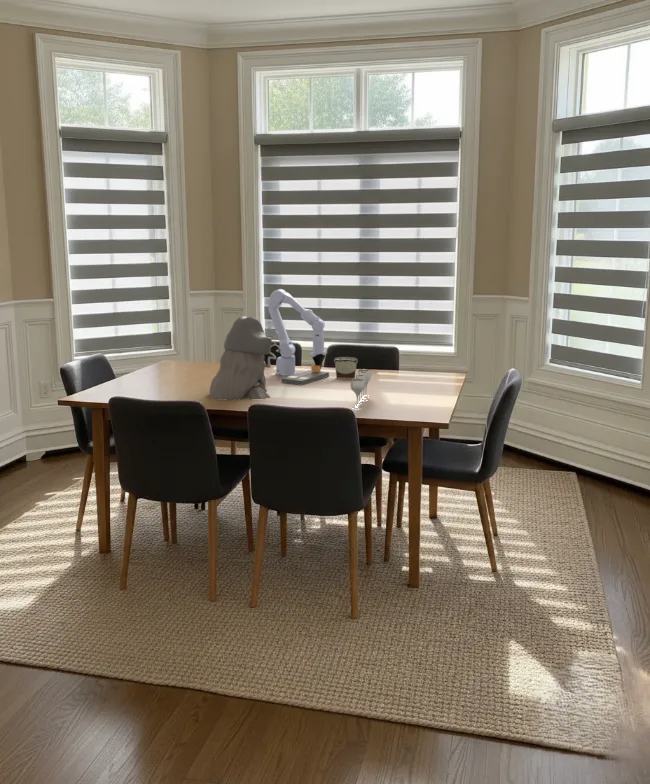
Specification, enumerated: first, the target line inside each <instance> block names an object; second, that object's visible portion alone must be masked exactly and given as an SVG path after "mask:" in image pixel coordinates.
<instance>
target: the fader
mask: <svg viewBox="0 0 650 784" xmlns="http://www.w3.org/2000/svg"><path fill="white" fill-rule="evenodd" d="M310 368H311V369H310V370H311V371H312V372H320V371H321V369H320V366H319V365H315V364H312V365H311V367H310Z"/></svg>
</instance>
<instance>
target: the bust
mask: <svg viewBox="0 0 650 784" xmlns="http://www.w3.org/2000/svg"><path fill="white" fill-rule="evenodd" d="M271 328H272V326H269V327H267V330H268V331H272V332H273V331H274V332H275V334H276V335H274V336H271V337H269V336H267V335H266V333H265V331H264V329H263V326H262V323H261V322H260V321H259V319H257V318H256V317H253V316H246V315H245V316H244V315H243V316H239V317H238V318H236V319H235V321H234V322H233V323H232V326H231V328H230V329H229V332H227V335H226V336H225V340H224V342H223V349H224V352H223V353H222V355H221V357H220V361H219V363H220V364H219V365H220V367H219V369H218V371H217V373H216V374H215V376H214V377H213V378H212V380H211V384H210V387H209V397H210V399H212V398H214V399H213V400H218V399H229V400H228V401H239V400H238V399H240V400H243V399H247V398H249V399H248V400H251V399H263V400H266V398H268V399H270V398H271V396H270V394H269V393H267V392H268V390H267V388H266V376H265V369H266V368H269V369H270V368H271V359H272V360H277V356H276V355H275V354H274V353H273V352H271V350H272V347H274V346H276V347H277V348H278V349H276V350H275V352H277V353H280V345H278V344H277V343H276V342H275V341H273V340H272V339H274V338H278V336H279V334H278V332H276V330H273V329H271ZM272 343H273V344H272ZM265 355H269V356H268V357H267V364H266V361H265ZM270 355H271V356H270ZM210 395H211V396H210ZM234 399H235V400H234Z"/></svg>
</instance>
